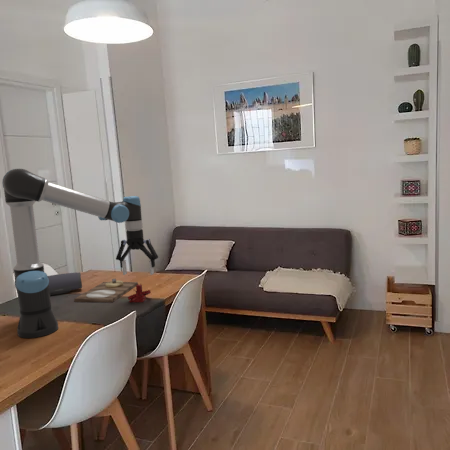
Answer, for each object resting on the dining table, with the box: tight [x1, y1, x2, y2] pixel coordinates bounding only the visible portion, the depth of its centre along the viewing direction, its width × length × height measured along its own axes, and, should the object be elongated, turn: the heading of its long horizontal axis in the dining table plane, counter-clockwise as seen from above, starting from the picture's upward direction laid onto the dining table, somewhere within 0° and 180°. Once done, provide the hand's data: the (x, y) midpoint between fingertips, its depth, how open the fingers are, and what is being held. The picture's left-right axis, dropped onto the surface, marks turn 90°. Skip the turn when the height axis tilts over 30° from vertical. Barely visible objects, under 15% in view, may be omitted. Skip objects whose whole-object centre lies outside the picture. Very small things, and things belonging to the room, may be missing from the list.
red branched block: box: [127, 284, 151, 303], centre depth 213 cm, size 11×12×8 cm
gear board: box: [73, 278, 139, 303], centre depth 229 cm, size 30×20×5 cm, turn 168°
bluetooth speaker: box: [47, 272, 83, 296], centre depth 233 cm, size 23×9×10 cm, turn 111°
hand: (138, 274), depth 211 cm, fingers open, 13 cm apart
